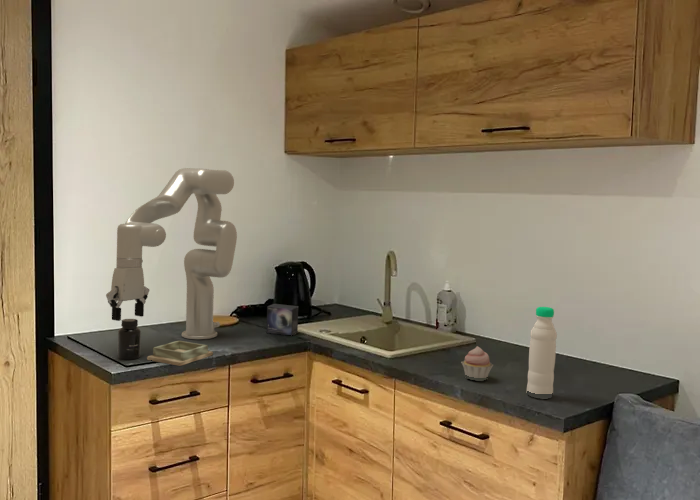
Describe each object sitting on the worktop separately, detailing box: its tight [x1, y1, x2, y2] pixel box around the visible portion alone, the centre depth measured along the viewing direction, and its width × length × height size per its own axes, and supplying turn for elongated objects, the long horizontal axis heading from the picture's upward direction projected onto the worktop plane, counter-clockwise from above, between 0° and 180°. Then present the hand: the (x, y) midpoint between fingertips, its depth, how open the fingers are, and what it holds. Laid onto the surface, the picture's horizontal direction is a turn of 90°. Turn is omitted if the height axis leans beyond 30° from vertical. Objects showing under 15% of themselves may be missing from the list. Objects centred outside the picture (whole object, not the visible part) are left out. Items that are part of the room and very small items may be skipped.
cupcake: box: [460, 345, 494, 378], centre depth 204 cm, size 9×9×10 cm
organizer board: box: [146, 340, 214, 367], centre depth 216 cm, size 16×13×4 cm
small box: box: [266, 303, 299, 337], centre depth 255 cm, size 11×6×10 cm, turn 72°
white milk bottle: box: [526, 306, 558, 394], centre depth 188 cm, size 7×7×25 cm
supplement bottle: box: [117, 318, 142, 361], centre depth 213 cm, size 7×7×12 cm
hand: (127, 318), depth 212 cm, fingers open, 9 cm apart
